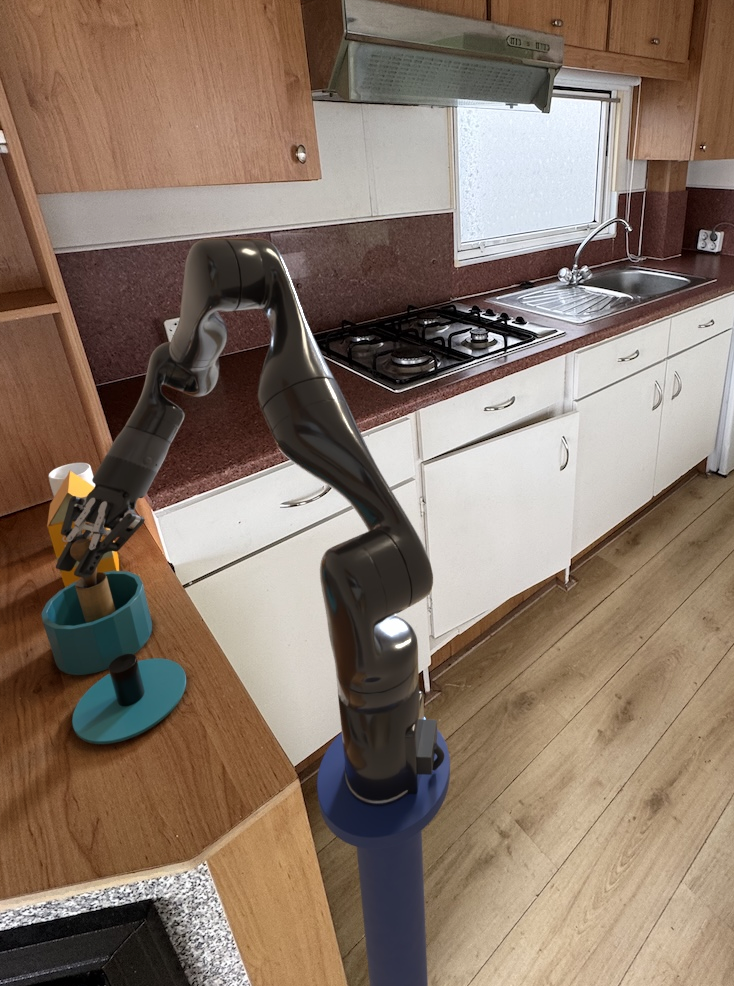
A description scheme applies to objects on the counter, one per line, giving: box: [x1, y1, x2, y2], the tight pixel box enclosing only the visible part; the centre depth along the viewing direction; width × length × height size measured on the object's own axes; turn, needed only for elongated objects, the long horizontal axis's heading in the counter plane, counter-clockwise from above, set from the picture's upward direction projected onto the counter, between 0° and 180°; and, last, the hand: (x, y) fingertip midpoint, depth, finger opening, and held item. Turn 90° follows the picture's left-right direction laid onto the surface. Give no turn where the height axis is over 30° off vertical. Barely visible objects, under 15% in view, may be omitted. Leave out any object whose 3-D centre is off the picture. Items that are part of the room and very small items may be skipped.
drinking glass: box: [48, 462, 95, 498], centre depth 113 cm, size 7×7×15 cm
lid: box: [71, 654, 187, 745], centre depth 79 cm, size 13×13×7 cm
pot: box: [40, 570, 153, 676], centre depth 89 cm, size 13×13×8 cm
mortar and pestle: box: [70, 539, 116, 623], centre depth 87 cm, size 7×6×18 cm
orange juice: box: [46, 471, 120, 588], centre depth 101 cm, size 8×9×20 cm
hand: (71, 572), depth 84 cm, fingers open, 3 cm apart
